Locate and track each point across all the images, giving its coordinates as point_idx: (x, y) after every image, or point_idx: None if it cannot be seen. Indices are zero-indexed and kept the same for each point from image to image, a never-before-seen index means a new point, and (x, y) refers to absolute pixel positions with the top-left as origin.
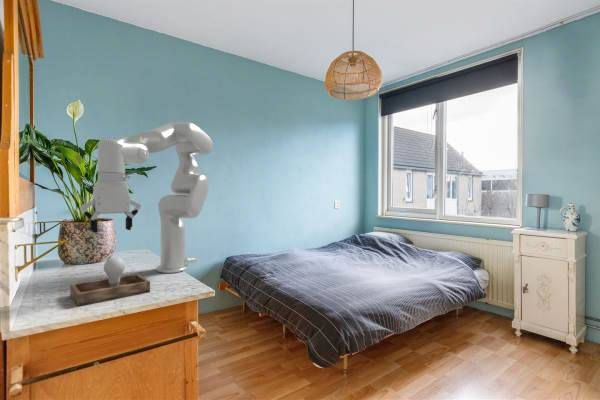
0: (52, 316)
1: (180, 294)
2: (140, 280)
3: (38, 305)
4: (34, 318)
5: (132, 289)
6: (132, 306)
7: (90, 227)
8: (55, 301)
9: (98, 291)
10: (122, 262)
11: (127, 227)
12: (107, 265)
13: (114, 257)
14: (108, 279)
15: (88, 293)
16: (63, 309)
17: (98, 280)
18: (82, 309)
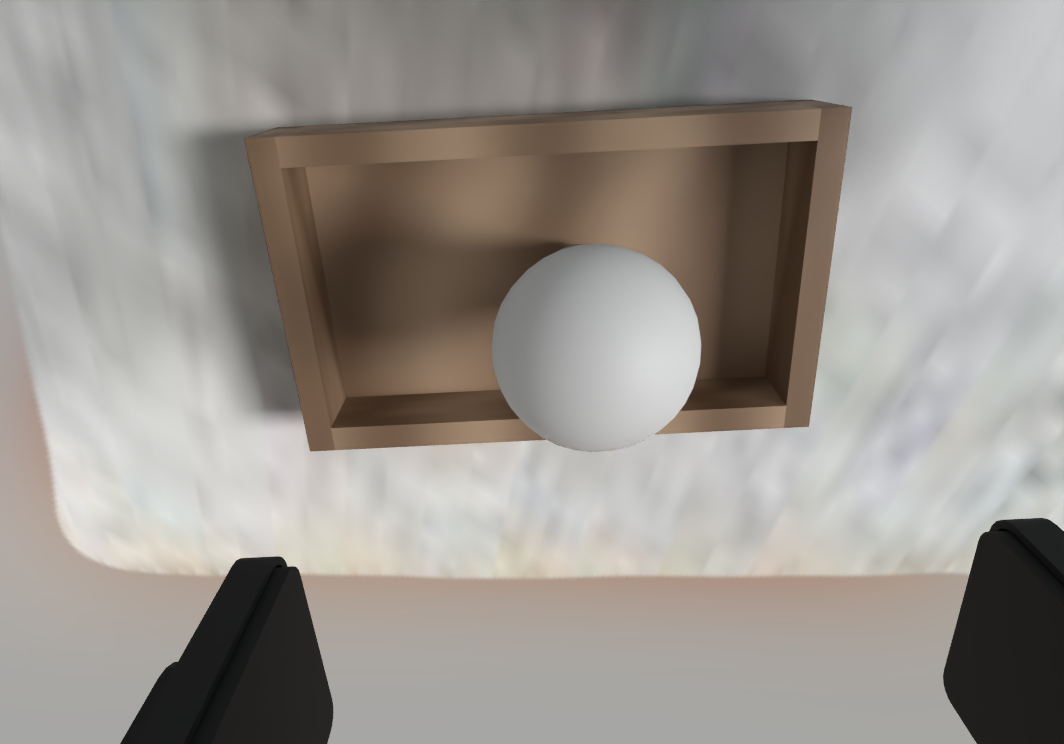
0: (214, 486)
1: (896, 536)
2: (792, 269)
3: (96, 242)
4: (129, 465)
5: None
6: (597, 567)
7: (156, 695)
8: (190, 218)
9: (439, 443)
10: (662, 427)
11: (983, 676)
12: (516, 414)
13: (602, 400)
14: (559, 153)
15: (377, 443)
16: (257, 411)
17: (475, 142)
18: (356, 469)
